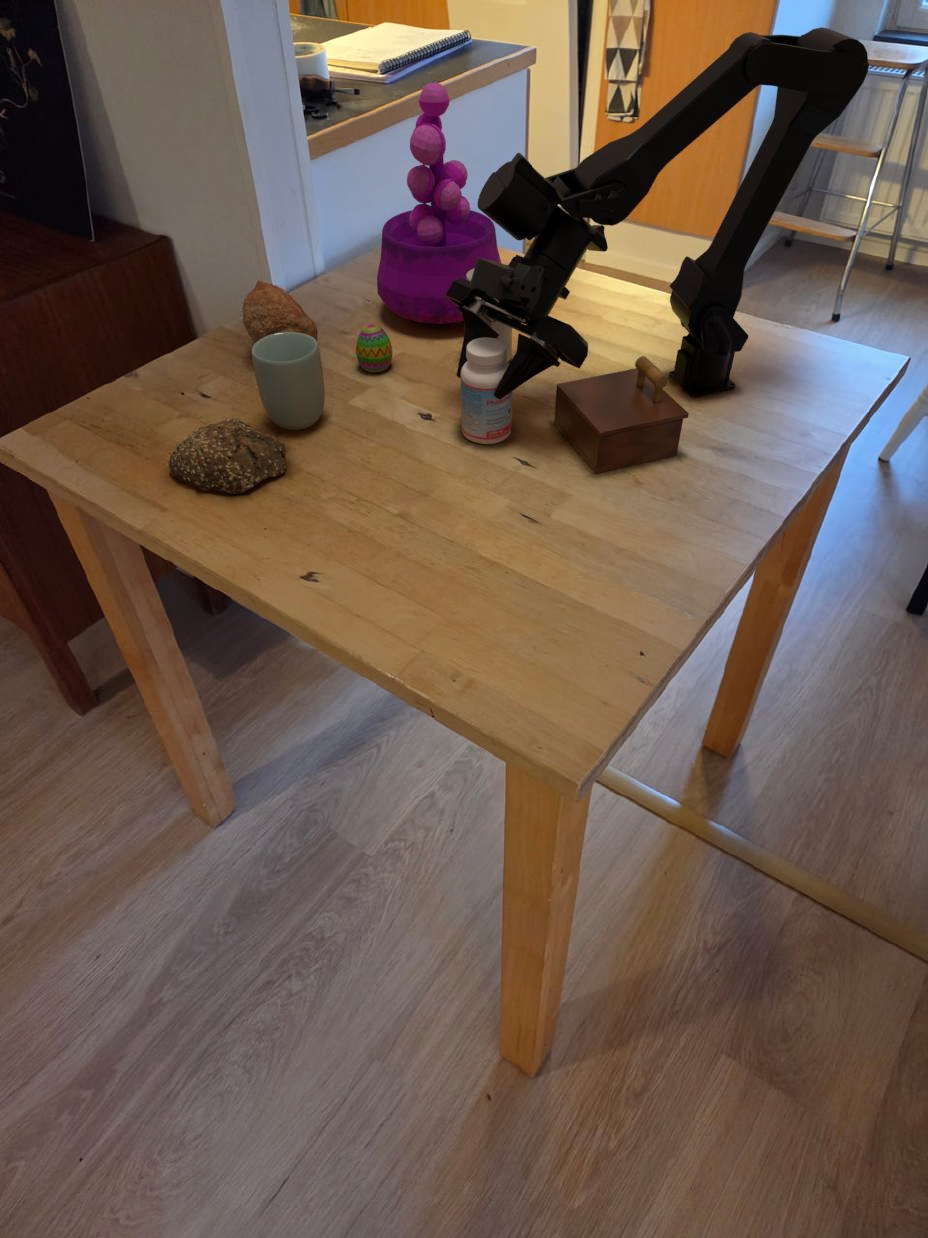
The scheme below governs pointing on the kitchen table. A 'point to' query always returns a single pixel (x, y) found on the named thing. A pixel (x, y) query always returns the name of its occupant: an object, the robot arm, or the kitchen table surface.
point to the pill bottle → (485, 392)
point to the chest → (615, 440)
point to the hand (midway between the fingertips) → (477, 387)
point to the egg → (374, 349)
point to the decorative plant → (432, 227)
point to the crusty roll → (274, 313)
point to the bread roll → (227, 457)
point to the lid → (623, 399)
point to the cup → (289, 379)
